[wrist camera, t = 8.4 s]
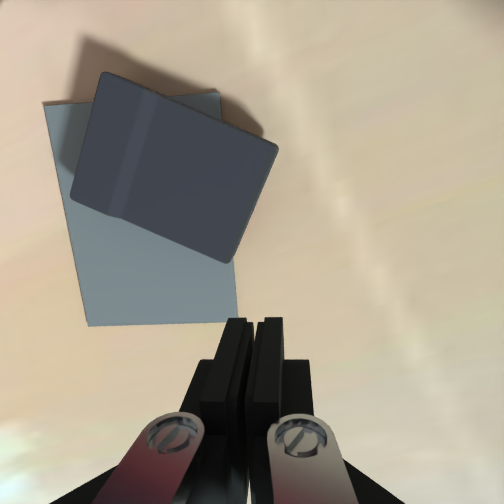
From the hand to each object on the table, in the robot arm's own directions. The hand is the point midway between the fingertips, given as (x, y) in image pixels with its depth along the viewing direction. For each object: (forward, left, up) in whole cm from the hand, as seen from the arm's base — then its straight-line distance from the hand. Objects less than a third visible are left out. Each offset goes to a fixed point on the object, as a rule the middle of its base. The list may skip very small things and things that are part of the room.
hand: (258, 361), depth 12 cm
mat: (+12, 0, -26) cm, 28 cm away
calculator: (+1, -1, -23) cm, 23 cm away
